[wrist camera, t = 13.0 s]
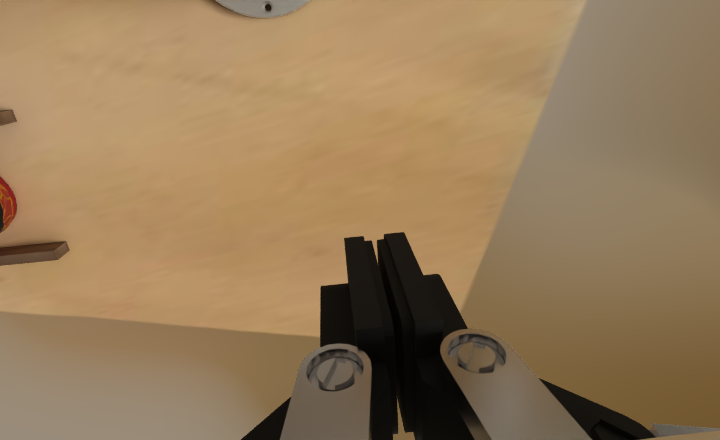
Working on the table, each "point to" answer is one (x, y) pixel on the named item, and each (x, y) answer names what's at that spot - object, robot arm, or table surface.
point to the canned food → (6, 205)
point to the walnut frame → (29, 251)
